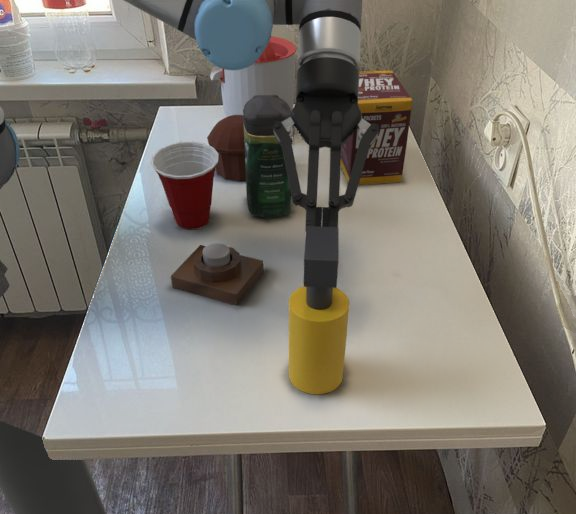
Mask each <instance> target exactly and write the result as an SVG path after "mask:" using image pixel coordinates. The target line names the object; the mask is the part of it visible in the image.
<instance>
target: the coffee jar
mask: <svg viewBox="0 0 576 514" xmlns="http://www.w3.org/2000/svg"><path fill="white" fill-rule="evenodd" d="M243 115H244V120H243V122H244V142H245V167H246V180H245V189H246V190H245V191H246V203H247V205H246V206H247V208H248V211H249V212H250V214H251V215H252V216H255V217H261V218H265V219H272V218H273V219H275V218H279V217H281V216H285V215H287V214H289V213H290V211H291V209H292V197H291V192H290V187H289V182H288V177H287V172H286V166H285V161H284V156H283V151H282V147H281V145H280V144H279V142H278V140H277V139H276V137H275V135H274V130H273V124H274V122H276V121H280V122H282V121H284V120H286V119H287V118H289V117H291V110H290V107H289V105H288V103H287V102H285V101H284V100H283V99H281V98H279V97H278V96H277V95H255V96H253V98H251V99H250V100H249V101H247V102H246V104H245V105H244V109H243ZM291 143H292V144H293V137H292V138H291Z"/></svg>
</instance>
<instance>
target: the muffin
mask: <svg viewBox="0 0 576 514" xmlns="http://www.w3.org/2000/svg"><path fill="white" fill-rule="evenodd" d="M243 120H244V115H231V116H228V117H227V116H226V117H224V118H222V119H220V120H219V121H217V123H216V124H214V126H213V128H212V129H211V131H210V132H209V134H208V135H207V137H206V139H207V143H208V145H209V146H211V147H213V148H214V149H215V150H216V151H217V153H218V163H217V165H216V167H215V172H216V175H217V176H220V177H222V178H223V179H224V180H226V181H235V182H243V181H246V167H245V142H244V122H243Z"/></svg>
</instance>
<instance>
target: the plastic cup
mask: <svg viewBox="0 0 576 514" xmlns="http://www.w3.org/2000/svg"><path fill="white" fill-rule="evenodd" d="M217 163H218V153H217V151H216V150H215V149H214V148H213V147H211V146H210V145H209V144H207V143H205V142H199V141H194V140H189V141H188V140H187V141H179V142H178V141H177V142H173V143H169V144H166V145H165V146H163V147H161V148H158V149H157V150H156V151H155V152H154V154H152V156H151V159H150V165H151V167H152V168H153V170H154V171H155V173H156V174H157V175H158V178H159V180H160V182H161V185H162V188H163V190H164V194H165V197H166V199H167V202H168V205H169V207H170V209H171V212H172V215H173V219H174V221H175V222H176V224H177V226H178V227H179V228H181V229H185V230H199V229H202V228H204V227H205V226H207V225H208V224H209V223H210V218H211V206H212V200H213V191H214V190H213V188H214V178H215V172H216V168H215V167H216V165H217Z"/></svg>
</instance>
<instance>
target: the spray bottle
mask: <svg viewBox="0 0 576 514" xmlns="http://www.w3.org/2000/svg"><path fill="white" fill-rule="evenodd" d="M303 255H304V256H303V285H302V286H301V287H298V288H297V289H295V290H294V291H293V292H292V293H291V294H290V296H289V299H288V378H289V381H290V383H291V384H292V386H293V387H294V388H296V389H297V390H298V391H301V392H302V393H306V394H309V395H325V394H328V393H331V392H333V391H334V390H336V389H337V388H339V386H340V385H341V384H342V381H343V379H344V369H345V358H346V346H347V335H348V323H349V314H350V299H349V297H348V295H347V294H346V293H345V291H344V290H342V289H340V288H339V287H337V286H338V275H339V273H338V272H339V226H338V227H314V226H307V227H306V232H305V240H304V253H303Z"/></svg>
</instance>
